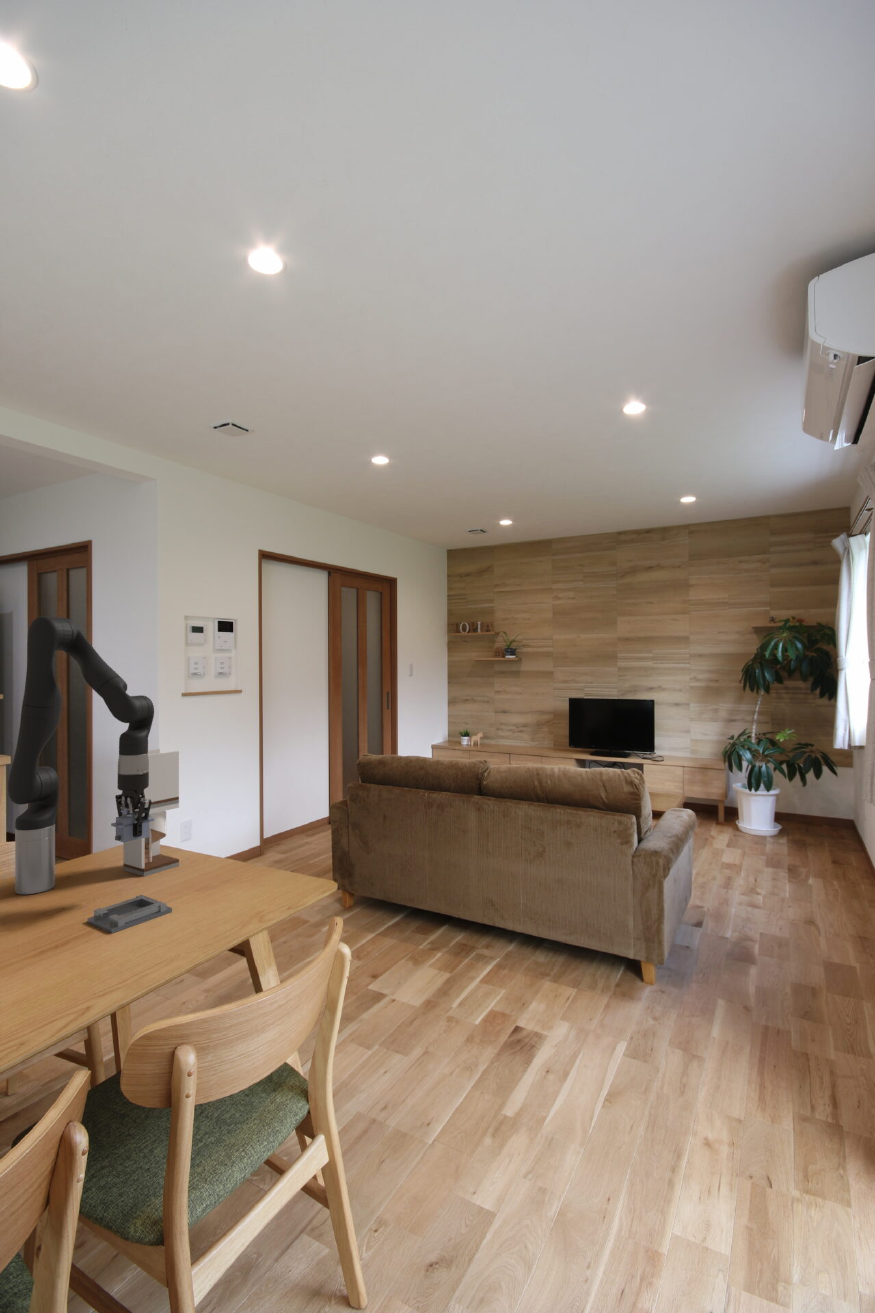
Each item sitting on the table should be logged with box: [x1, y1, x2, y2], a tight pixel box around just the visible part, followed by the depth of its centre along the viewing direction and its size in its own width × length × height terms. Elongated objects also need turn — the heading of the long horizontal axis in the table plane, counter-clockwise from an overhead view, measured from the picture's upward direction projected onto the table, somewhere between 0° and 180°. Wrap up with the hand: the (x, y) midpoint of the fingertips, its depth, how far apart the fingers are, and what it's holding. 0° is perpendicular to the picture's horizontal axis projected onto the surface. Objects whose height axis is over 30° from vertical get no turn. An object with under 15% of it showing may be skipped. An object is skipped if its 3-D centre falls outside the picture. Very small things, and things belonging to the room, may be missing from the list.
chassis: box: [87, 894, 173, 934], centre depth 153 cm, size 15×11×2 cm
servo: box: [110, 810, 154, 843], centre depth 167 cm, size 10×4×7 cm, turn 146°
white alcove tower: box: [122, 748, 180, 877], centre depth 191 cm, size 11×11×35 cm
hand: (132, 835), depth 167 cm, fingers closed on servo, 4 cm apart
